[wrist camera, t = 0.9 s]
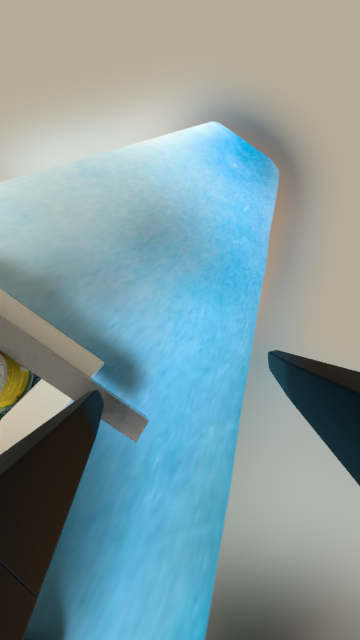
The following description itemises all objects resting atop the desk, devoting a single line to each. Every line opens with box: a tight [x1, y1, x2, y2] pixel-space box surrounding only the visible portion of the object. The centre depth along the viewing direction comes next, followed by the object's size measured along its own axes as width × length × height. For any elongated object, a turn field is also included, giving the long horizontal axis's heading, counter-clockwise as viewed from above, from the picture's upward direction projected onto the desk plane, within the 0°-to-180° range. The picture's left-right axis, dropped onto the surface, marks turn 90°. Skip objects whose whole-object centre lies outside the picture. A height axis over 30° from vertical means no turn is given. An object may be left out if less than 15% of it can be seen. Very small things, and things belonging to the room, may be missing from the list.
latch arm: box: [0, 315, 149, 442], centre depth 13 cm, size 19×2×2 cm, turn 56°
